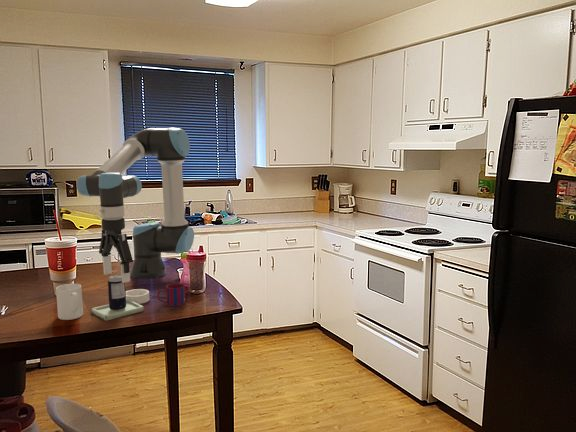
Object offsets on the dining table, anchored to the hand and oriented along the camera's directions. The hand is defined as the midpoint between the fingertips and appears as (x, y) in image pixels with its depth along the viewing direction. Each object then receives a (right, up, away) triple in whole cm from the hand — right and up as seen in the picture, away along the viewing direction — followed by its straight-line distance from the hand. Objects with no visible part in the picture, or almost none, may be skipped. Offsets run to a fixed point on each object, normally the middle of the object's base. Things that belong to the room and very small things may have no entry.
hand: (116, 277), depth 178 cm
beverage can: (0, -12, +1) cm, 12 cm away
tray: (0, -12, +1) cm, 12 cm away
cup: (+17, -11, +10) cm, 23 cm away
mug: (-14, -13, -5) cm, 20 cm away
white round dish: (+3, -10, +14) cm, 18 cm away
